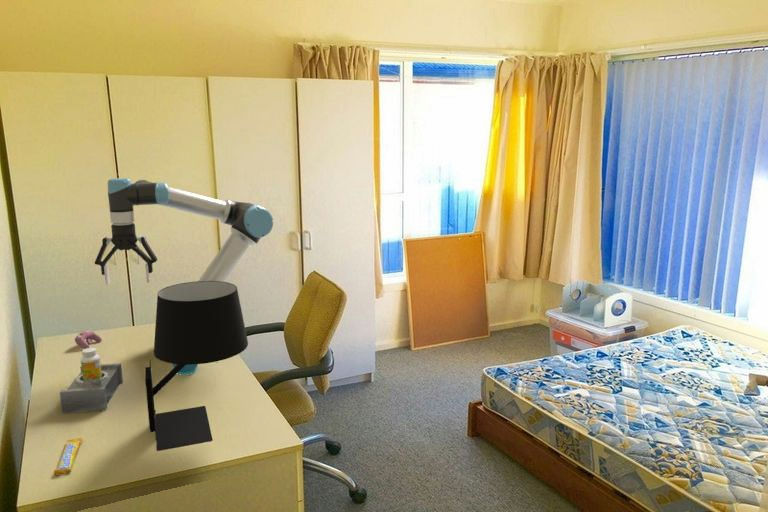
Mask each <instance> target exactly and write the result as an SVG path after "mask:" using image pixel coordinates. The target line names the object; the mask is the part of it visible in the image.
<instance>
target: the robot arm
mask: <svg viewBox="0 0 768 512" xmlns="http://www.w3.org/2000/svg"><path fill="white" fill-rule="evenodd" d="M107 197H108V206H109V207H108V208H109V216H110V223H111V226H110V228H111V229H110V230H111V235H112V237H107V236H105V237H103V238H102V244H101V247H100V250H99V251H98V254H97V256H96V259H95V261H94V264H95V265H96V266H100V271H101V275H103V276H104V278H105V279H104V281H105V285H109V284H110V283H111V277H110V268H109V267H110V266H109V264H107V263H108V262H109V261H110V259H111V258H112V257H113V255H114V254H115V253H116V252H117V250H119V251H124V250H125V251H130V250H132V251H134V252H135V253H136V254H137V255H138V257H140V259H142V260H143V261H144V262H145V263H146V264H144V265H145V278H146V283H147V284H149V283H150V282H152V279H151V274H152V273H153V269H154V268H153V264H154V263H156V262H157V261H158V257H157V256H156V254H155V252H154V251H153V250H152V247H151V246H150V245H149V243H148V242H147V237H146V236H145V235H143V236H138V237H137V234H136V233H137V232H136V225H135V223H134V222H135V211H134V206H146V205H149V206H150V205H158V206H163V207H167V208H170V209H175V210H177V211H178V210H179V211H183V212H187V213H189V214H190V213H191V214H195V215H199V216H203V217H207V218H212V219H215V220H219V221H220V223H222V224H226V225H228V226H230V232H231V234H230V235H229V237H228V238H227V239H226V241H225V242H224V244H223V245H222V246H221V247H220V249H219V250H218V252H217V253H216V255H215V256H214V258H213V259H212V261H211V262H210V263H209V265H208V266H207V268H206V269H205V271H204V272H203V273H202V275H201V277H199V279H198V281H221V282H227V280H229V278H230V277H231V275H232V274H233V272H234V270H235V269H236V268H237V266H238V265H239V263H240V261H241V260H242V259H243V257H244V256H245V254H246V253H247V252H248V250H249V249H250V247H252V246H257V244H258V242H260V240H261V239H262V238H264V237H266V236H267V235H270V233H271V231H272V229H273V226H274V219H273V215H272V214H271V212H270V211H269V209H267V208H265V207H263V206H262V205H258V204H254V203H251V202H244V201H243V202H241V201H235V200H231V199H226V200H220V199H217V198H213V197H210V196H209V197H208V196H205V195H201V194H199V193H198V194H197V193H194V192H190V191H186V190H183V189H178V188H175V187H171V186H168V184H167V183H166V182H151V181H148V180H145V179H140V180H139V179H138V180H136V181H135V182H134V183H133V182H132V180H131V179H130V178H127V177H126V178H125V177H119V178H118V177H117V178H115V177H114V178H110V179H108V180H107ZM137 242H139V243H140V244H141V245H142V246H143V248H144V250H145V251H146V253H147V254H146V253H145V252H144V251H143V250H142V249H141V248H140V247H139V246H138V245H137V244H136V243H137ZM110 243H112V244H113V245H114V246H113V247H112V248H111V250H110V251H109V253H107V255H106V256H105V258H104V259H103V257H104V254H105V252H106V250H107V247H108V245H110ZM102 259H103V260H102Z"/></svg>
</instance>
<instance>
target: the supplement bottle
mask: <svg viewBox="0 0 768 512" xmlns="http://www.w3.org/2000/svg"><path fill="white" fill-rule="evenodd" d="M81 354H82V357H81V358H80V367H81V366H82V374H83V380H84V381H94V380H98V379H100V378H101V377H102V373H101V364H102V363H101V358H100V355H99V354H97V348H95V347H89V348H86V349H82V351H81Z"/></svg>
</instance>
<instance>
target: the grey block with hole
mask: <svg viewBox="0 0 768 512" xmlns="http://www.w3.org/2000/svg"><path fill="white" fill-rule="evenodd" d="M100 364H101V373H102V377H101V378H100V379H98V380H94V381H84V380H83V374H82V366H81V365H80V372H79V374H78V375H77V377H76V378H75V379H74V380H73V381H72V383H71V384H70V385H69V386H68V387H67V389H60V391H59V396H60V397H59V398H60V407H61V413H64V414H73V413H74V414H75V413H87V412H100V411H107V409H108V404H109V403H110V401H111V400H112V398H113V396H114V394H115V393H116V391H117V389H118V388H119V386H120V385H122V384H123V383H124V380H123V379H124V378H123V369H122V368H123V367H122V363H121V362H118V363H117V362H115V363H100Z"/></svg>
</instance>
